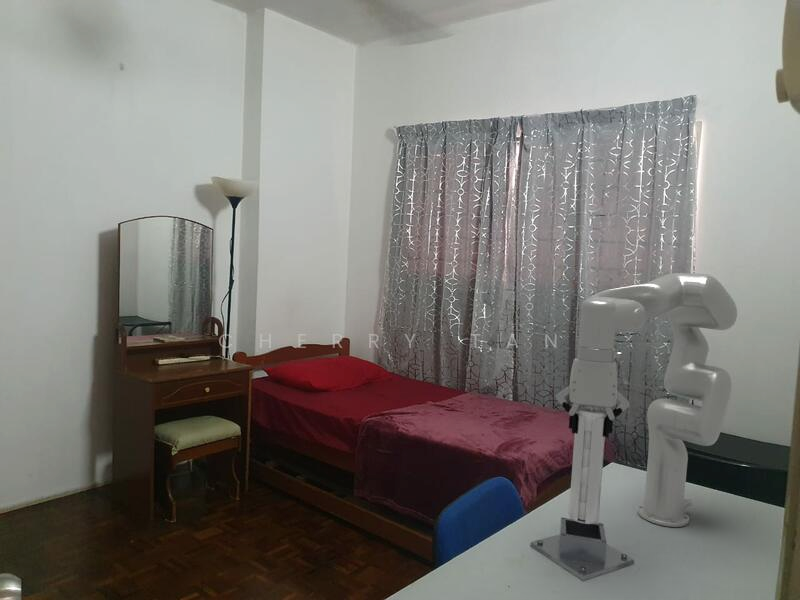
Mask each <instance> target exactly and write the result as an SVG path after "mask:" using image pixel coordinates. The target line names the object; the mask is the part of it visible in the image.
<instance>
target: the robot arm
mask: <svg viewBox="0 0 800 600" xmlns="http://www.w3.org/2000/svg"><path fill="white" fill-rule="evenodd" d="M664 314H666V315H667V319H668V321H669V323H670V324H669V325H670V327H671V330H672V333H673V346H672V350H671V354H670V355H669V356H670V357H669V361H668V365H667V367H666V371H665V374H664V379H663V387H664V390H666V391H667V393H669V394H671V395H674V396H676V397H680V398H684V399H689V400H693V401H698V402H702V403H701V405H698V404H693V403H688V402H684V401H680V400H675V399H671V398H658V399H655V400H654V401H652V402H651V403H650V404H649V406H648V409H647V411H646V412H647V413H646V414H647V415H646V419H647V426H648V427H647V428H648V450H647V451H648V452H647V464H646V465H647V466H646V475H645V490H644V500H643V503H640V504H639V505H638V506H637V509H636V510H637V511H636V512H637V514H638V516H640V518H642V519H644V520H646V521H648V522H650V523H653V524H656V525H659V526H662V527H663V526H664V527H668V528H669V527H672V528H681V527H685V526H688V524H689V522H690V517H689V515H688V514H687V513H686V512H685V509H686V508H688V507H690V506H691V507H692V506H693V501H692V498H691V499H690V498H685V491H686V482H687V471H688V470H687V469H688V463H689V462H688V460H689V457H688V456H689V454H688V450H687V448H686V445H685V443H684V442H688V443H692V444H696V445H698V446H699V445H700V446H704V447H707V446H712V445H714V444H715V443H716V442H717V440H718V439H719V438H720V437H719V436H720V434H721V431H722V429H723V424H724V420H725V417H726V413H727V410H728V405H729V401H730V398H731V393H732V379H731V376H730V373H729V372H728V371H727V370H725V369H724V368H723V367H719V366H715V365H709V364H706V362H707V358H708V355H709V349H710V348H709V344H708V341H707V339H706V337H705V335H704V333H702V331H701V329H707V330H708V329H709V330H716V331H726V330H729V329H731V328H732V327H733V326H734V325H735V323H736V322H737V318H738V308H737V305H736V303H735V300H734V299H733V298H732V296H731V295H730V294H729V292H728V291H727V290H726V288H725V287H724V286H723V284H721V282H720V281H719V280H718V279H717V278H715V277H714V276H712V275H710V274H704V273H703V274H702V273H690V272H688V273H687V272H673V273H672V272H671V273H668V274H665V275H662V276H660V277H657V278H655V279H653V280H651V281H648V282H645V283H641V284H634V285H633V284H632V285H628V286H622V287H616V288H611V289H606V290H603V291H600V292H597V293H595V294H593V295H590V296H589V297H588V298H587V299H585V300H583V301H582V303H581V307H580V318H579V319H580V321H579V322H580V323H579V332H578V333H579V335H578V347H577V349H578V350H577V358H574V359H573V362H572V364H571V370H570V377H569V385H567V386H566V387H565V388H563V389H562V390H561V391H560V392H558V393H556V394H555V400H557V402H558V403H559V404H560V405H561V406H562V407H563V409H564V410H565V411H566V412H567V414H568V415H569V418H568V420H569V421H568V429H571V434H573V435H575V429H576V412H577V410H578V409H579V408H580V407H579V406H584V407H585V406H587V407H593V408H594V407H595V408H604V409H605V411H606V412H605V413H606V428H605V439H606V438H607V439H608V438H609V437H610V434H612V433H613V424H614V423H613V422H614V420H615V419H616V418H617V417H619V416H620V415H621V414H622V413H623V412H624V411H625V410H627V409H628V408H629V407H630V406H631V404H630V402H629V401H628V400H627V399H626V398H625V396H623V394H622V393H620V392H619V390H618V368H617V362H616V361H614V360H615V359H617V358H618V359H621V357H622V356H621V354H622V352H621V351H617V350H616V349H615V341H616V332H620V333H628V334H629V333H630V334H631V333H635V332H637V331H639V330H640V329H642V327H644V325H645V323H646V319H647V318H656V317H659V316H662V315H664ZM700 328H701V329H700ZM567 396H568V399H569V401H570V403H571V404H570V403H568V402H567V401H566V399H565V397H567ZM617 402H620V404H619V405H618V406H617V407H616V405H617ZM614 407H615V408H614ZM612 408H614V409H612Z"/></svg>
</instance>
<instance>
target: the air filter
mask: <svg viewBox="0 0 800 600" xmlns="http://www.w3.org/2000/svg"><path fill="white" fill-rule="evenodd" d="M575 413H576V429H575V433H574V437H573V439H574V440H573V449H572V450H573V451H572V452H573V453H572V467H571V479H570V480H571V481H570V493H569V495H570V496H569V504H568V505H569V506H568V507H569V508H568V518H569V519H572V520H574V521H576V522H579V523H583V524H595V523H599V520H600V519H599V518H600V506H601V495H602V494H601V491H602V480H603V479H602V477H603V465H604V454H605V442H606V441H605V440H606V437H605V428H606V417H607V414H605V413H606V412H605V411H604V410H602V409H599V408H597V407H595V408H594V407H578V411H576V412H575Z"/></svg>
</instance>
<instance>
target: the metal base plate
mask: <svg viewBox="0 0 800 600" xmlns="http://www.w3.org/2000/svg"><path fill="white" fill-rule="evenodd" d="M559 527H560V528H559V534H556V535H552V536H548V537H545V538H541V539H536V540H533V541H531V542H530V547H531V548H533V550H535V551H537V552H538V553H540V554H541V555H543V556H544V557H546V558H548V559H549V560H551V561H552V562H554V563H555V564H557V565H558V566H560V567H561V568H563V569H565V571H568V572H569V573H570V574H572V575H574V576H575V577H577V579H580V580H581V581H582V582H584V581H587V580H590V579H593V578H595V577H599V576H601V575H604V574H607V573H608V574H609V573H611V572H613V571H616V570H619V569H623V568H625V567H629V566H632V565H634V564H635V559H634V558H633V557H630V556H629V555H628V554H626V553H623V552H622V551H620V550H618V549H616V548H614V547H613V546H611V545H609V544H608V543H607V536H606V532H605V526H604V523H600V522H597V523H595V524H583V523H579V522H576V521H574V520H572V519H571V518H570V517H567V518H566V517H561V518H560V526H559Z"/></svg>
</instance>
